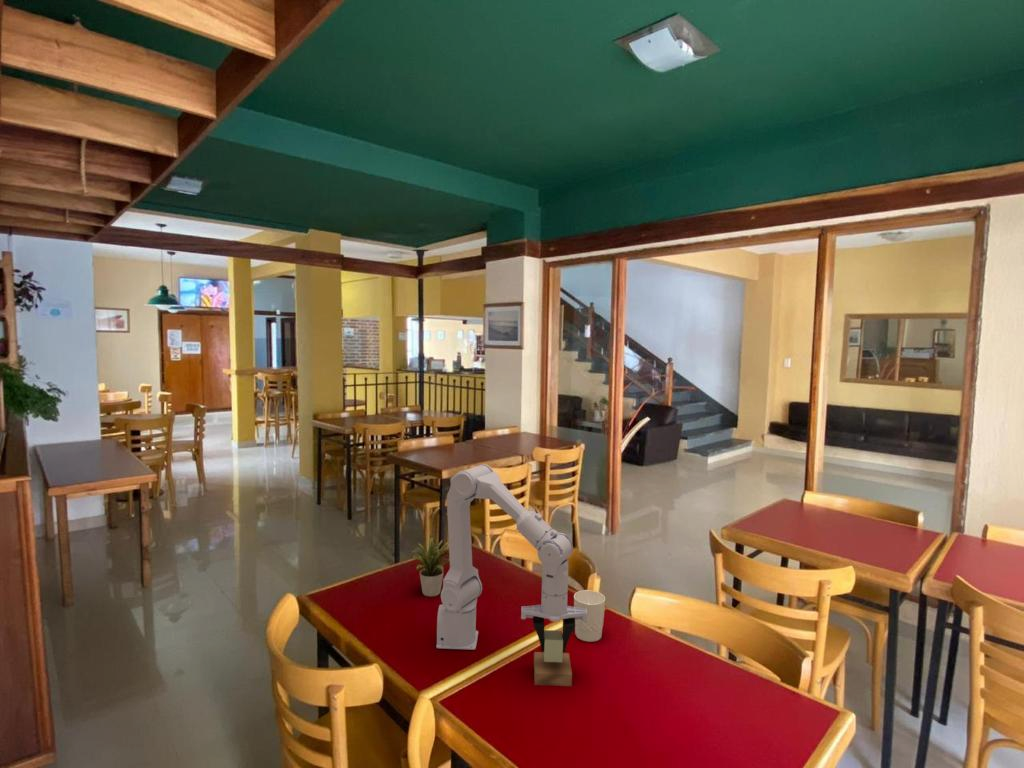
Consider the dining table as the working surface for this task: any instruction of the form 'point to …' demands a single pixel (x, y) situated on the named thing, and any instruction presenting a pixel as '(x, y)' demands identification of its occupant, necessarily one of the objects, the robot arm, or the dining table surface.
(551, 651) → the green block
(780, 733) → the dining table surface
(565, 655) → the walnut base
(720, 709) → the dining table surface
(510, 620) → the dining table surface
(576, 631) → the white cup
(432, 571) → the house plant
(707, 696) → the dining table surface
